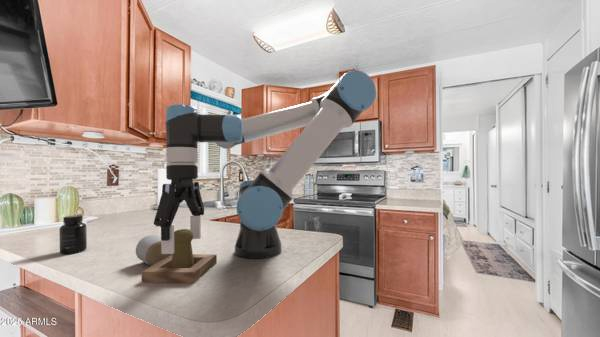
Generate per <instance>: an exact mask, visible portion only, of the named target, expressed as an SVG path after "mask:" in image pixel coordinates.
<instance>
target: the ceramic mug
mask: <svg viewBox="0 0 600 337" xmlns="http://www.w3.org/2000/svg"><path fill="white" fill-rule="evenodd" d="M135 255H136V257H137V258H138V259H139V260H140V261H142V262H144V263H146V265H148V266H150V267H151V266H153V265H154V264H156V263H158V262H160V261H162V260H163V259H165V258H167V257H169V256H170V255H172V254H161V236H159V235H156V234H148V235H145V236H144V237H142V238H141V239H140V240H138V243H137V245H136V247H135Z"/></svg>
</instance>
